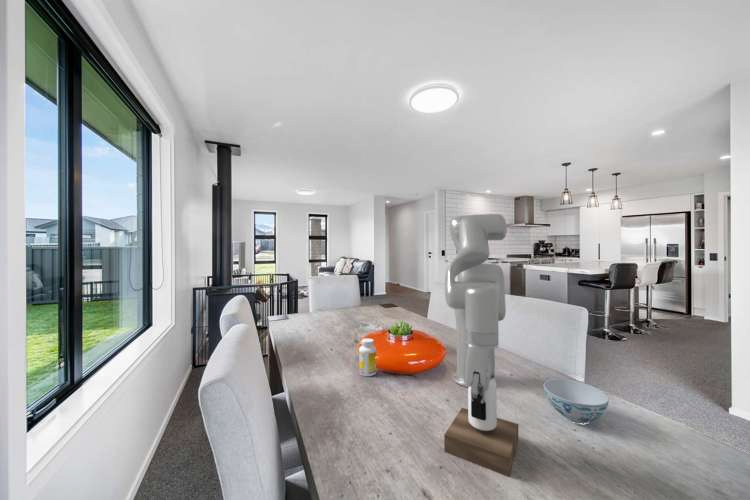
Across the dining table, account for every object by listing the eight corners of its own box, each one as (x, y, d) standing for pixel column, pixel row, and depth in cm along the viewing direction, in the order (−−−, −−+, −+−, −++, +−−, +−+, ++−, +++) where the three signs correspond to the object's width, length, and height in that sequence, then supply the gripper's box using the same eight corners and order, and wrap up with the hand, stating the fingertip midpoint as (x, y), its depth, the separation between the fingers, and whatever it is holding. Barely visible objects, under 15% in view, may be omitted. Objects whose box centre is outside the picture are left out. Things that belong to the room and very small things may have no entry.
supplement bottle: (378, 370, 114) (377, 338, 114) (374, 377, 108) (374, 343, 108) (361, 369, 115) (361, 337, 115) (357, 376, 109) (357, 342, 109)
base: (462, 422, 79) (462, 407, 79) (518, 440, 72) (518, 424, 72) (444, 451, 68) (444, 434, 68) (509, 477, 60) (509, 457, 60)
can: (499, 433, 66) (499, 381, 66) (469, 430, 67) (469, 379, 67) (493, 417, 72) (493, 369, 72) (466, 414, 74) (466, 367, 74)
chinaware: (596, 408, 86) (595, 382, 86) (620, 440, 71) (619, 409, 72) (539, 400, 91) (538, 376, 91) (551, 428, 76) (550, 399, 76)
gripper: (475, 326, 79) (475, 392, 79) (455, 344, 65) (455, 424, 65) (504, 330, 75) (505, 399, 75) (490, 350, 61) (490, 436, 61)
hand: (482, 410), depth 70 cm, fingers closed on can, 6 cm apart
